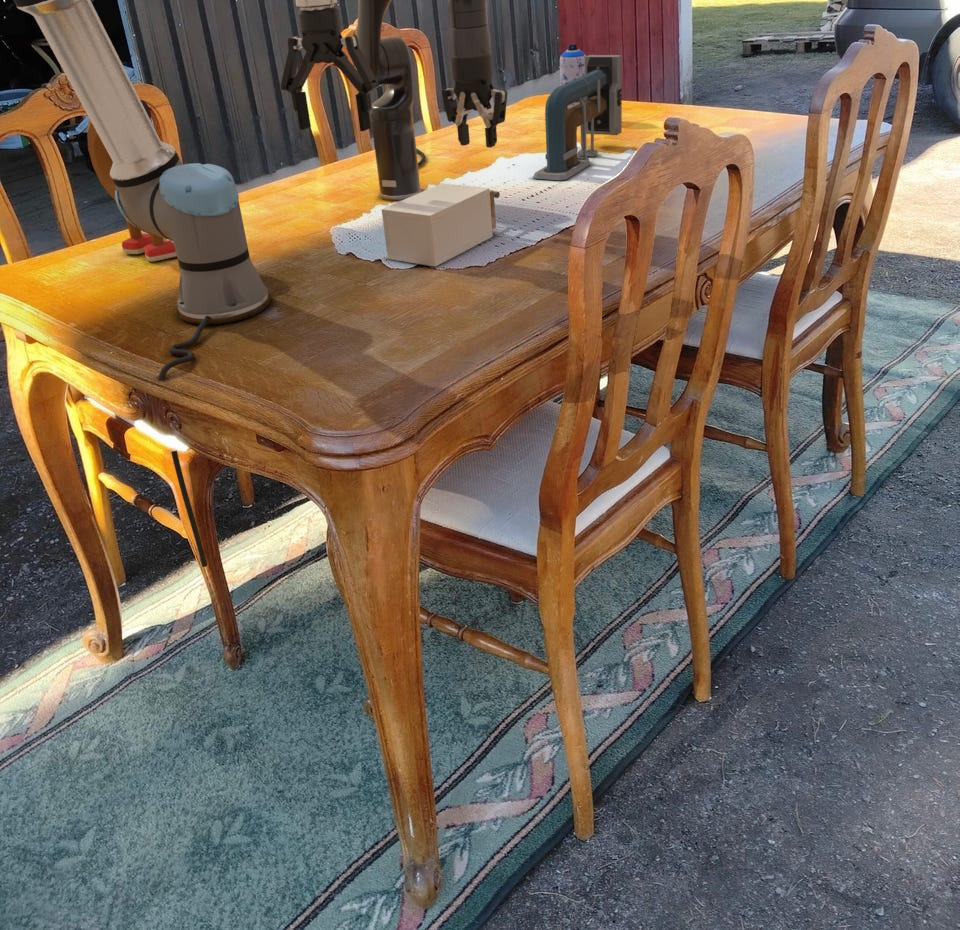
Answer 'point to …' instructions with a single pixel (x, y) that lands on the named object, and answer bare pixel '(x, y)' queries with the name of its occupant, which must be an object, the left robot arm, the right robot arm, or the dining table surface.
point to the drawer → (493, 206)
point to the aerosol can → (572, 66)
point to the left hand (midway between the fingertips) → (335, 129)
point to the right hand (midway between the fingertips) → (477, 145)
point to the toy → (102, 165)
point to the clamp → (582, 116)
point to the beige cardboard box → (437, 224)
